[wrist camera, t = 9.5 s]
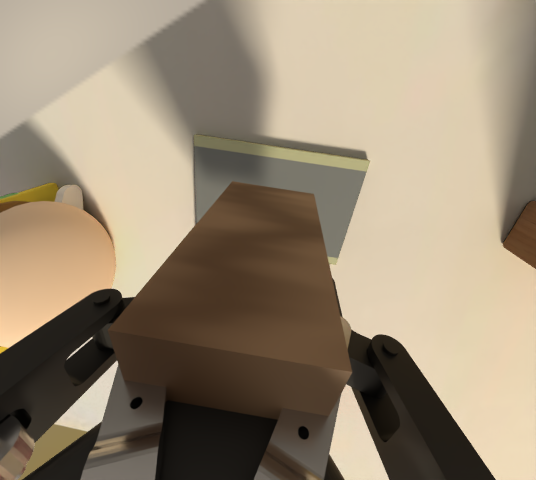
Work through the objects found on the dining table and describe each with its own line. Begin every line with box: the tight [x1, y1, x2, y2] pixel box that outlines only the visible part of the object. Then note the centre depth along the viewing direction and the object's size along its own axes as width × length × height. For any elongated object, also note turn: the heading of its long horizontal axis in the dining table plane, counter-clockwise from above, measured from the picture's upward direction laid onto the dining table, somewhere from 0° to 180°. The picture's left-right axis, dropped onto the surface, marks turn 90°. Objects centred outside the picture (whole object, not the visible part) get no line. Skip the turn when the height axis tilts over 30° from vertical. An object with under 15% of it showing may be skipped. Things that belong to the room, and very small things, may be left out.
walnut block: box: [108, 181, 352, 420], centre depth 11 cm, size 5×7×11 cm
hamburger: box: [0, 183, 116, 353], centre depth 20 cm, size 12×8×12 cm
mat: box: [194, 134, 370, 265], centre depth 21 cm, size 14×10×1 cm
